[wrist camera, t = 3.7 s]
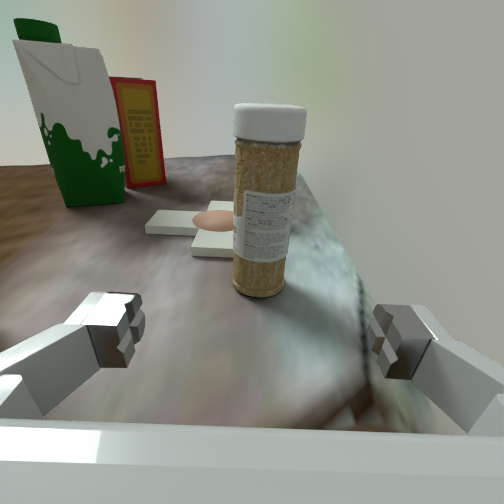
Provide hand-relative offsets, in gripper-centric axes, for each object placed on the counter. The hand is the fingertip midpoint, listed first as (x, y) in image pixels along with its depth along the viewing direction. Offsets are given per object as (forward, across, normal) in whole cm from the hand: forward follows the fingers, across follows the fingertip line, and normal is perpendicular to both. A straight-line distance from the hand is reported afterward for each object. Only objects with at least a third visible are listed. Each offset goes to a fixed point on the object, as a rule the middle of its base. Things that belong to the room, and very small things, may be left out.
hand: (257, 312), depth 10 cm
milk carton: (+32, +23, +7) cm, 40 cm away
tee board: (+23, +6, +7) cm, 25 cm away
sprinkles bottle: (+12, 0, +7) cm, 14 cm away
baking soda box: (+43, +21, +7) cm, 48 cm away
